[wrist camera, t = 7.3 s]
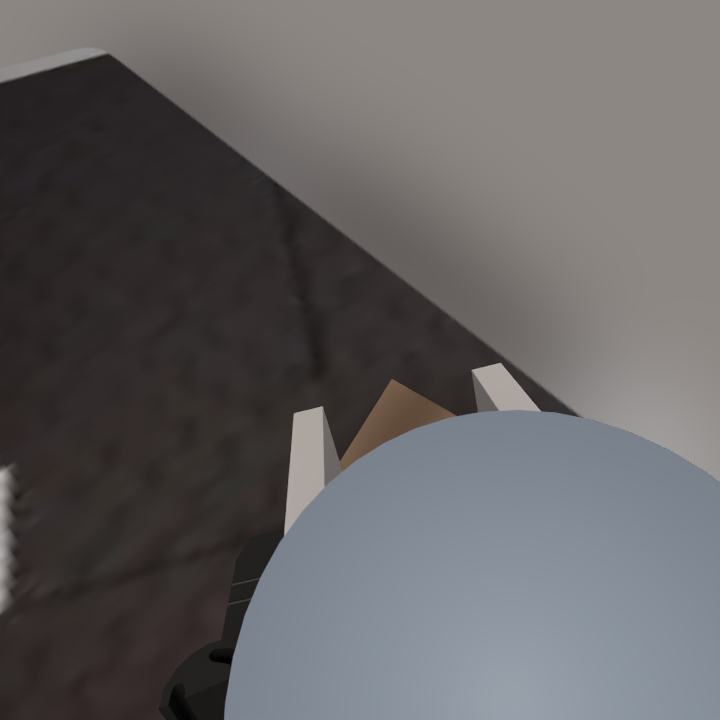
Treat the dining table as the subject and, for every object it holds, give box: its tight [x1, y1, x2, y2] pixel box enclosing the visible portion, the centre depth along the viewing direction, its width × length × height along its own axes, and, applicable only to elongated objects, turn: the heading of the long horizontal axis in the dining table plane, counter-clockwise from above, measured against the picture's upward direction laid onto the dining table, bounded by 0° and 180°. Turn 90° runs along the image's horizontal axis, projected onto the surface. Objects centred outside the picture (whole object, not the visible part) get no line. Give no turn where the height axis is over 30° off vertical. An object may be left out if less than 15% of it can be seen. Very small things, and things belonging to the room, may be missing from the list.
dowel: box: [224, 410, 720, 720], centre depth 10 cm, size 4×4×14 cm
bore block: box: [340, 379, 456, 472], centre depth 27 cm, size 14×14×5 cm
